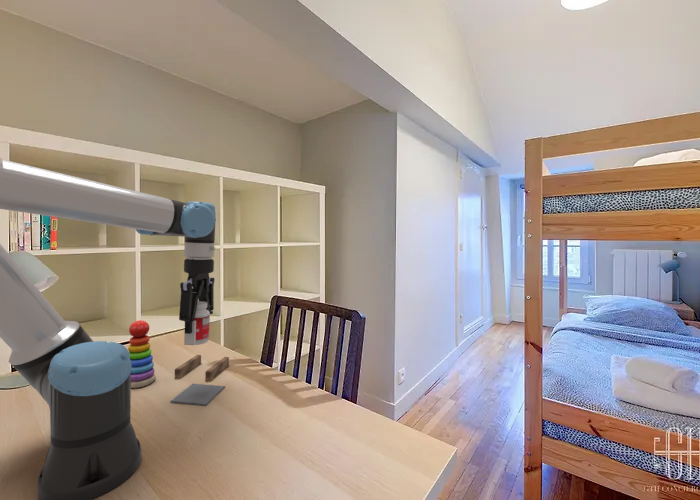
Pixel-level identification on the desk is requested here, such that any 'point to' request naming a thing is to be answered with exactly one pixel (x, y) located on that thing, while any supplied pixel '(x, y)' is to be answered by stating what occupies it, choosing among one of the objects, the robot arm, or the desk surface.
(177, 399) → the coaster
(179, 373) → the pair of wooden rails
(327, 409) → the desk surface
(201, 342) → the pill bottle
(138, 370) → the stacking toy
